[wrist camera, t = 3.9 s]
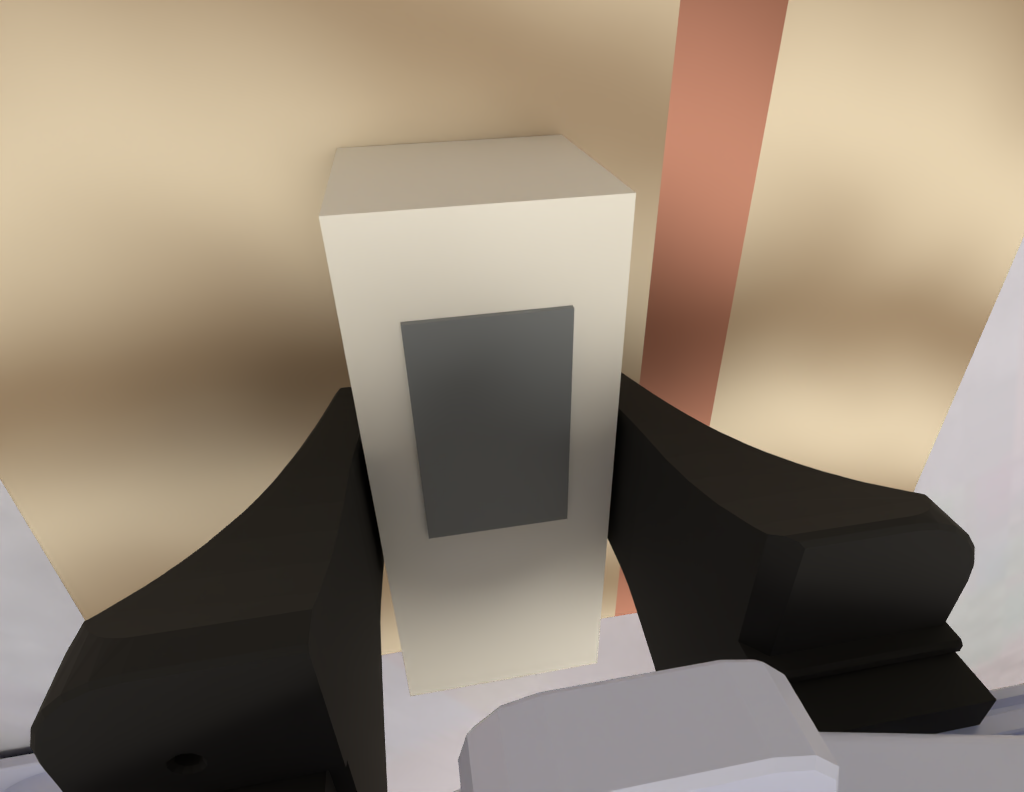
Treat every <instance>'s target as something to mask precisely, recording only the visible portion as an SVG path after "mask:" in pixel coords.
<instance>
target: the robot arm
mask: <svg viewBox="0 0 1024 792" xmlns="http://www.w3.org/2000/svg"><path fill="white" fill-rule="evenodd" d="M607 538H608V541H609V543H610V545H611V547H612V549H613V551H614V553H615V556H616V558H617V560H618V562H619V564H620V566H621V569H622V571H623V574H624V576H625V579H626V581H627V584H628V586H629V589H630V592H631V595H632V598H633V601H634V604H635V607H636V610H637V613H638V616H639V619H640V622H641V625H642V628H643V631H644V635H645V638H646V641H647V644H648V647H649V650H650V654H651V657H652V660H653V663H654V666H655V669H656V671H655V672H650V673H644V674H639V675H633V676H628V677H622V678H617V679H611V680H606V681H600V682H595V683H589V684H583V685H578V686H572V687H567V688H561V689H556V690H550V691H545V692H539V693H536V694H533V695H530V696H528V697H525V698H522V699H519V700H516V701H513V702H510V703H507V704H504V705H501V706H500V707H498V708H497V709H496V710H494V711H493V712H492V713H491V714H489V715H488V716H487V717H486V718H484V719H483V720H482V721H480V722H479V723H478V724H477V725H475V726H474V727H473V728H472V729H471V730H470V731H469V733H468V734H467V735H466V738H465V741H464V744H463V747H462V750H461V753H460V756H459V759H458V763H459V773H460V782H461V789H459V790H457V791H454V792H1024V684H1019V685H1014V686H1009V687H1004V688H999V689H994V690H988V689H987V688H986V687H985V686H984V684H983V683H982V682H981V681H980V680H979V679H978V678H977V676H976V675H975V674H974V673H973V672H972V671H971V670H970V668H969V667H968V666H967V665H966V664H965V663H964V662H963V660H962V659H961V658H960V657H959V656H958V655H957V654H956V652H957V651H960V649H961V648H962V646H963V645H962V641H961V638H960V637H959V636H958V635H957V634H956V633H955V632H954V631H953V629H952V628H951V627H950V626H949V625H948V624H947V623H946V620H947V618H948V616H949V614H950V613H951V611H952V609H953V607H954V605H955V604H956V602H957V600H958V598H959V596H960V594H961V593H962V591H963V589H964V587H965V585H966V583H967V582H968V579H969V577H970V574H971V571H972V569H973V566H974V548H975V547H974V545H973V543H972V541H971V539H970V537H969V535H968V534H967V533H966V532H965V531H964V530H963V529H962V528H961V527H960V526H959V525H958V524H956V523H955V522H954V521H953V520H952V519H951V518H950V517H949V516H948V515H947V514H946V513H945V512H944V511H942V510H941V509H940V508H939V507H938V506H937V505H936V504H935V503H934V502H933V501H932V500H931V499H929V498H928V497H927V496H926V495H924V494H920V493H915V492H910V491H905V490H900V489H895V488H890V487H885V486H881V485H876V484H871V483H866V482H862V481H857V480H854V479H850V478H846V477H843V476H839V475H835V474H831V473H828V472H824V471H821V470H817V469H814V468H811V467H808V466H804V465H801V464H798V463H795V462H792V461H790V460H787V459H784V458H781V457H779V456H776V455H773V454H770V453H767V452H765V451H762V450H760V449H757V448H755V447H752V446H750V445H748V444H745V443H743V442H741V441H739V440H737V439H734V438H732V437H730V436H728V435H726V434H723V433H721V432H719V431H717V430H715V429H713V428H711V427H709V426H707V425H705V424H704V423H702V422H700V421H698V420H696V419H695V418H693V417H691V416H689V415H687V414H686V413H684V412H682V411H680V410H679V409H677V408H675V407H674V406H672V405H670V404H669V403H667V402H666V401H664V400H662V399H661V398H659V397H658V396H656V395H655V394H653V393H651V392H650V391H648V390H647V389H645V388H644V387H642V386H641V385H639V384H638V383H637V382H635V381H634V380H632V379H631V378H629V377H628V376H626V375H625V374H623V373H622V372H621V380H620V392H619V404H618V416H617V428H616V440H615V453H614V465H613V477H612V489H611V501H610V513H609V525H608V537H607ZM383 570H384V555H383V550H382V545H381V540H380V535H379V529H378V524H377V519H376V514H375V508H374V503H373V498H372V493H371V487H370V482H369V477H368V472H367V466H366V461H365V456H364V451H363V446H362V440H361V435H360V430H359V425H358V419H357V414H356V409H355V404H354V398H353V393H352V388H351V387H344V388H340V389H339V390H338V391H337V393H336V394H335V395H334V397H333V399H332V401H331V402H330V404H329V406H328V407H327V409H326V410H325V412H324V414H323V415H322V417H321V418H320V420H319V421H318V423H317V425H316V426H315V428H314V429H313V430H312V432H311V433H310V435H309V436H308V437H307V439H306V440H305V442H304V443H303V445H302V446H301V447H300V449H299V450H298V451H297V453H296V454H295V455H294V457H293V458H292V459H291V460H290V462H289V463H288V464H287V465H286V466H285V468H284V469H283V470H282V471H281V473H280V474H279V475H278V476H277V478H276V479H275V480H274V481H273V482H272V483H271V484H270V485H269V487H268V488H267V489H266V490H265V491H264V492H263V493H262V494H261V495H260V496H259V497H258V498H257V499H256V500H255V501H254V502H253V503H252V504H251V505H250V506H249V507H248V508H247V509H246V510H245V511H244V512H243V513H242V514H240V515H239V516H238V517H237V518H236V519H234V520H233V521H232V522H231V523H230V524H229V525H227V526H226V527H225V528H224V529H223V530H221V531H220V532H219V533H218V534H217V535H215V536H214V537H213V538H212V539H211V540H209V541H208V542H207V543H206V544H205V545H203V546H202V547H201V548H199V549H198V550H197V551H195V552H194V553H192V554H191V555H190V556H188V557H187V558H186V559H184V560H183V561H182V562H180V563H179V564H177V565H176V566H174V567H173V568H171V569H170V570H168V571H167V572H166V573H164V574H163V575H161V576H160V577H158V578H157V579H155V580H154V581H152V582H150V583H149V584H147V585H146V586H144V587H143V588H141V589H139V590H138V591H136V592H134V593H132V594H131V595H129V596H127V597H126V598H124V599H122V600H121V601H119V602H117V603H116V604H114V605H112V606H111V607H109V608H107V609H105V610H104V611H102V612H100V613H99V614H97V615H95V616H93V617H91V618H90V619H88V620H86V621H84V623H83V624H82V626H81V628H80V630H79V632H78V633H77V635H76V637H75V638H74V640H73V642H72V644H71V645H70V647H69V649H68V650H67V652H66V654H65V656H64V658H63V661H62V663H61V665H60V667H59V669H58V671H57V673H56V675H55V677H54V679H53V682H52V684H51V686H50V688H49V690H48V692H47V694H46V697H45V699H44V701H43V703H42V705H41V707H40V709H39V712H38V714H37V716H36V718H35V720H34V722H33V724H32V727H31V740H30V747H31V748H32V750H33V752H34V753H32V754H26V755H20V756H15V757H9V758H3V759H0V792H387V774H386V753H385V732H384V709H383V684H382V656H381V597H382V583H383Z"/></svg>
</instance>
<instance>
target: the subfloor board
mask: <svg viewBox="0 0 1024 792" xmlns="http://www.w3.org/2000/svg"><path fill="white" fill-rule="evenodd" d="M547 135H563V136H564V137H565V138H567V139H568V140H569V141H570V142H572V143H573V144H574V145H576V146H577V147H578V148H579V149H581V150H582V151H583V152H585V153H586V154H587V155H588V156H590V157H591V158H592V159H593V160H595V161H596V162H597V163H599V164H600V165H601V166H602V167H604V168H605V169H606V170H608V171H609V172H610V173H611V174H613V175H614V176H615V177H616V178H618V179H619V180H620V181H622V182H623V183H624V184H625V185H627V186H628V187H629V188H631V189H632V190H633V191H634V192H636V200H635V212H634V224H633V236H632V248H631V260H630V272H629V284H628V296H627V308H626V320H625V332H624V344H623V356H622V368H621V372H622V373H623V374H625V375H626V376H628V377H629V378H631V379H632V380H634V381H635V382H637V383H638V384H639V385H641V386H642V387H644V388H645V389H647V390H648V391H650V392H651V393H653V394H655V395H656V396H658V397H659V398H661V399H662V400H664V401H666V402H667V403H669V404H670V405H672V406H674V407H675V408H677V409H679V410H680V411H682V412H684V413H686V414H687V415H689V416H691V417H693V418H695V419H696V420H698V421H700V422H702V423H704V424H705V425H707V426H709V427H711V428H713V429H715V430H717V431H719V432H721V433H723V434H726V435H728V436H730V437H732V438H734V439H737V440H739V441H741V442H743V443H745V444H748V445H750V446H752V447H755V448H757V449H760V450H762V451H765V452H767V453H770V454H773V455H776V456H779V457H781V458H784V459H787V460H790V461H792V462H795V463H798V464H801V465H804V466H808V467H811V468H814V469H817V470H821V471H824V472H828V473H831V474H835V475H839V476H843V477H846V478H850V479H854V480H857V481H862V482H866V483H871V484H876V485H881V486H885V487H890V488H895V489H900V490H905V491H910V492H913V491H914V489H915V487H916V484H917V482H918V480H919V477H920V475H921V473H922V471H923V468H924V466H925V464H926V461H927V459H928V457H929V454H930V452H931V450H932V447H933V445H934V443H935V440H936V438H937V436H938V434H939V431H940V429H941V427H942V424H943V422H944V420H945V417H946V415H947V413H948V410H949V408H950V406H951V403H952V401H953V399H954V396H955V394H956V392H957V390H958V387H959V385H960V383H961V380H962V378H963V376H964V373H965V371H966V369H967V366H968V364H969V362H970V359H971V357H972V355H973V353H974V350H975V348H976V346H977V343H978V341H979V339H980V336H981V334H982V332H983V329H984V327H985V325H986V322H987V320H988V318H989V316H990V313H991V311H992V309H993V306H994V304H995V302H996V299H997V297H998V295H999V292H1000V290H1001V288H1002V285H1003V283H1004V281H1005V279H1006V276H1007V274H1008V272H1009V269H1010V267H1011V265H1012V262H1013V260H1014V258H1015V255H1016V253H1017V251H1018V248H1019V246H1020V244H1021V241H1022V239H1023V237H1024V0H0V479H1V481H2V483H3V484H4V486H5V488H6V489H7V491H8V493H9V494H10V496H11V498H12V499H13V501H14V503H15V504H16V506H17V508H18V509H19V511H20V513H21V514H22V516H23V518H24V519H25V521H26V523H27V524H28V526H29V528H30V529H31V531H32V533H33V534H34V536H35V538H36V539H37V541H38V543H39V544H40V546H41V548H42V549H43V551H44V553H45V554H46V556H47V558H48V559H49V561H50V563H51V564H52V566H53V568H54V569H55V571H56V573H57V574H58V576H59V578H60V579H61V581H62V583H63V584H64V586H65V588H66V589H67V591H68V593H69V594H70V596H71V598H72V599H73V601H74V602H75V604H76V606H77V607H78V609H79V611H80V612H81V614H82V616H83V617H84V619H85V621H86V620H88V619H90V618H91V617H93V616H95V615H97V614H99V613H100V612H102V611H104V610H105V609H107V608H109V607H111V606H112V605H114V604H116V603H117V602H119V601H121V600H122V599H124V598H126V597H127V596H129V595H131V594H132V593H134V592H136V591H138V590H139V589H141V588H143V587H144V586H146V585H147V584H149V583H150V582H152V581H154V580H155V579H157V578H158V577H160V576H161V575H163V574H164V573H166V572H167V571H168V570H170V569H171V568H173V567H174V566H176V565H177V564H179V563H180V562H182V561H183V560H184V559H186V558H187V557H188V556H190V555H191V554H192V553H194V552H195V551H197V550H198V549H199V548H201V547H202V546H203V545H205V544H206V543H207V542H208V541H209V540H211V539H212V538H213V537H214V536H215V535H217V534H218V533H219V532H220V531H221V530H223V529H224V528H225V527H226V526H227V525H229V524H230V523H231V522H232V521H233V520H234V519H236V518H237V517H238V516H239V515H240V514H242V513H243V512H244V511H245V510H246V509H247V508H248V507H249V506H250V505H251V504H252V503H253V502H254V501H255V500H256V499H257V498H258V497H259V496H260V495H261V494H262V493H263V492H264V491H265V490H266V489H267V488H268V487H269V485H270V484H271V483H272V482H273V481H274V480H275V479H276V478H277V476H278V475H279V474H280V473H281V471H282V470H283V469H284V468H285V466H286V465H287V464H288V463H289V462H290V460H291V459H292V458H293V457H294V455H295V454H296V453H297V451H298V450H299V449H300V447H301V446H302V445H303V443H304V442H305V440H306V439H307V437H308V436H309V435H310V433H311V432H312V430H313V429H314V428H315V426H316V425H317V423H318V421H319V420H320V418H321V417H322V415H323V414H324V412H325V410H326V409H327V407H328V406H329V404H330V402H331V401H332V399H333V397H334V395H335V394H336V393H337V391H338V390H339V389H340V388H344V387H351V383H350V377H349V372H348V367H347V362H346V357H345V351H344V346H343V341H342V336H341V330H340V325H339V320H338V315H337V309H336V304H335V299H334V294H333V288H332V283H331V278H330V273H329V268H328V262H327V257H326V252H325V247H324V241H323V236H322V231H321V226H320V220H319V213H320V210H321V206H322V202H323V198H324V195H325V191H326V187H327V183H328V180H329V176H330V172H331V169H332V165H333V161H334V157H335V154H336V150H337V148H346V147H363V146H379V145H396V144H413V143H430V142H446V141H463V140H480V139H496V138H513V137H530V136H547ZM632 613H637V610H636V607H635V604H634V601H633V598H632V595H631V592H630V589H629V586H628V584H627V581H626V579H625V576H624V574H623V571H622V569H621V566H620V564H619V562H618V560H617V558H616V556H615V553H614V551H613V549H612V547H611V545H610V543H609V541H608V538H607V549H606V561H605V573H604V585H603V597H602V609H601V619H602V618H608V617H614V616H620V615H626V614H632ZM396 652H402V650H401V644H400V639H399V634H398V629H397V623H396V618H395V613H394V608H393V603H392V597H391V592H390V587H389V582H388V576H387V571H386V566H385V561H384V570H383V583H382V597H381V655H384V654H390V653H396Z"/></svg>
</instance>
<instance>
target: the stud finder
mask: <svg viewBox="0 0 1024 792" xmlns="http://www.w3.org/2000/svg"><path fill="white" fill-rule="evenodd" d="M635 200H636V192H634V191H633V190H632V189H631V188H629V187H628V186H627V185H625V184H624V183H623V182H622V181H620V180H619V179H618V178H616V177H615V176H614V175H613V174H611V173H610V172H609V171H608V170H606V169H605V168H604V167H602V166H601V165H600V164H599V163H597V162H596V161H595V160H593V159H592V158H591V157H590V156H588V155H587V154H586V153H585V152H583V151H582V150H581V149H579V148H578V147H577V146H576V145H574V144H573V143H572V142H570V141H569V140H568V139H567V138H565V137H564V136H563V135H547V136H530V137H513V138H496V139H480V140H463V141H446V142H430V143H413V144H396V145H379V146H363V147H346V148H337V150H336V154H335V157H334V161H333V165H332V169H331V172H330V176H329V180H328V183H327V187H326V191H325V195H324V198H323V202H322V206H321V210H320V213H319V220H320V226H321V231H322V236H323V241H324V247H325V252H326V257H327V262H328V268H329V273H330V278H331V283H332V288H333V294H334V299H335V304H336V309H337V315H338V320H339V325H340V330H341V336H342V341H343V346H344V351H345V357H346V362H347V367H348V372H349V377H350V383H351V388H352V393H353V398H354V404H355V409H356V414H357V419H358V425H359V430H360V435H361V440H362V446H363V451H364V456H365V461H366V466H367V472H368V477H369V482H370V487H371V493H372V498H373V503H374V508H375V514H376V519H377V524H378V529H379V535H380V540H381V545H382V550H383V555H384V561H385V566H386V571H387V576H388V582H389V587H390V592H391V597H392V603H393V608H394V613H395V618H396V623H397V629H398V634H399V639H400V644H401V650H402V655H403V660H404V665H405V671H406V676H407V681H408V686H409V692H410V696H415V695H420V694H426V693H432V692H437V691H443V690H449V689H454V688H460V687H466V686H471V685H477V684H482V683H488V682H494V681H499V680H505V679H511V678H516V677H522V676H528V675H533V674H539V673H544V672H550V671H556V670H561V669H567V668H573V667H578V666H584V665H590V664H595V663H597V657H598V645H599V633H600V621H601V609H602V597H603V585H604V573H605V561H606V549H607V537H608V525H609V513H610V501H611V489H612V477H613V465H614V453H615V440H616V428H617V416H618V404H619V392H620V380H621V368H622V356H623V344H624V332H625V320H626V308H627V296H628V284H629V272H630V260H631V248H632V236H633V224H634V212H635Z"/></svg>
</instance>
